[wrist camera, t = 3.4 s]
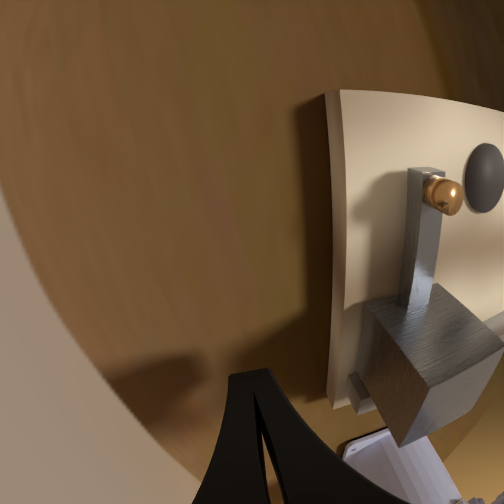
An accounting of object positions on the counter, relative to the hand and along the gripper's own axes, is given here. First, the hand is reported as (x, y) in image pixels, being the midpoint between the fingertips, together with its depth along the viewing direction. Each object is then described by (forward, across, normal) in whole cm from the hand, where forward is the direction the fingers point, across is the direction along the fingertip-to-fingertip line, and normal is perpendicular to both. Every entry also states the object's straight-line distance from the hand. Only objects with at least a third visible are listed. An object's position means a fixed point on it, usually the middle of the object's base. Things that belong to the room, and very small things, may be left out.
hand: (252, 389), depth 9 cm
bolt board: (+3, -12, -2) cm, 12 cm away
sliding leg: (+1, -6, -2) cm, 7 cm away
